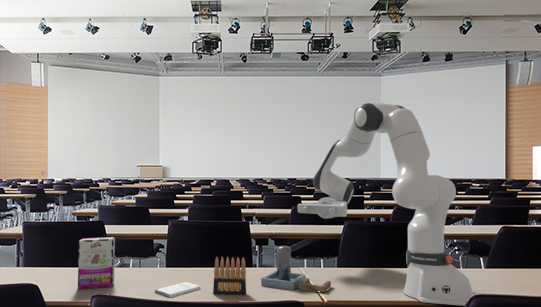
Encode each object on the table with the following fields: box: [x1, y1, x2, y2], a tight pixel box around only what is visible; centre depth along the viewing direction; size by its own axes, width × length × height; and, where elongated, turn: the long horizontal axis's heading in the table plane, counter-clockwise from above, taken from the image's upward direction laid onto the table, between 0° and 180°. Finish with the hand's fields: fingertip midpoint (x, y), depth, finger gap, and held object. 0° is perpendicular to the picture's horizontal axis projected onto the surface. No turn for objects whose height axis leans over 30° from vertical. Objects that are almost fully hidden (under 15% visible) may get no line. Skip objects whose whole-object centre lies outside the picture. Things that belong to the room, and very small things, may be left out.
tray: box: [260, 270, 306, 291], centre depth 137 cm, size 12×12×2 cm
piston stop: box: [276, 245, 292, 281], centre depth 137 cm, size 5×5×12 cm
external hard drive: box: [154, 281, 201, 298], centre depth 128 cm, size 2×8×12 cm
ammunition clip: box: [212, 256, 247, 296], centre depth 125 cm, size 11×2×12 cm, turn 86°
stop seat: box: [298, 277, 332, 293], centre depth 131 cm, size 9×8×2 cm
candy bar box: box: [77, 236, 116, 290], centre depth 133 cm, size 11×5×16 cm, turn 105°
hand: (316, 210), depth 150 cm, fingers open, 8 cm apart
